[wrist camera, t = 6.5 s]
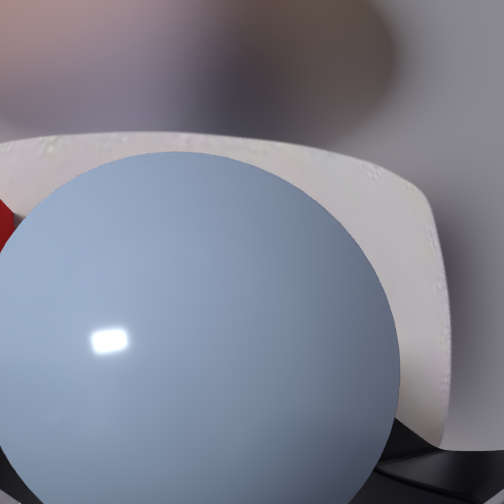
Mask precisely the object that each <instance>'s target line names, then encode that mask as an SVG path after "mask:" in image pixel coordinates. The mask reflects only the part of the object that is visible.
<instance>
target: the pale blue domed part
mask: <svg viewBox="0 0 504 504" xmlns="http://www.w3.org/2000/svg"><path fill="white" fill-rule="evenodd" d="M399 385H400V355H399V345H398V339H397V333H396V328H395V322H394V319H393V316H392V312H391V309H390V306H389V303H388V300H387V297H386V294H385V292H384V290H383V287H382V285H381V283H380V281H379V279H378V277H377V275H376V272H375V270H374V269H373V267H372V265H371V264H370V262H369V261H368V259H367V257H366V256H365V254H364V253H363V251H362V250H361V248H360V246H359V245H358V244H357V243H356V241H355V240H354V239H353V238H352V236H351V235H350V234H349V233H348V232H347V230H346V229H345V228H344V227H343V226H342V224H341V223H340V222H339V221H338V220H336V219H335V218H334V217H333V216H332V215H331V214H330V213H329V212H328V211H327V210H326V209H325V208H324V207H323V206H322V205H320V204H319V203H318V202H316V201H315V200H314V199H312V198H311V197H310V196H308V195H307V194H306V193H304V192H303V191H302V190H300V189H299V188H297V187H295V186H294V185H292V184H290V183H289V182H287V181H285V180H283V179H282V178H280V177H278V176H276V175H274V174H272V173H269V172H267V171H265V170H262V169H260V168H258V167H255V166H253V165H250V164H247V163H244V162H240V161H237V160H234V159H230V158H227V157H222V156H216V155H210V154H204V153H193V152H160V153H148V154H143V155H137V156H132V157H127V158H123V159H120V160H116V161H113V162H110V163H107V164H104V165H101V166H99V167H97V168H94V169H92V170H90V171H88V172H86V173H83V174H81V175H79V176H77V177H76V178H74V179H72V180H71V181H69V182H68V183H66V184H64V185H63V186H61V187H60V188H58V189H57V190H55V191H54V192H53V193H52V194H50V195H49V196H48V197H47V198H45V199H44V200H43V201H42V202H41V203H39V204H38V205H37V206H36V207H35V208H34V209H33V210H32V211H31V212H30V214H29V215H28V216H27V217H26V218H25V219H24V220H23V221H22V222H21V223H20V225H19V226H18V227H17V229H16V230H15V231H14V233H13V234H12V235H11V237H10V238H9V240H8V241H7V243H6V244H5V246H4V248H3V250H2V251H1V253H0V446H1V448H2V450H3V452H4V453H5V455H6V457H7V459H8V460H9V462H10V464H11V465H12V467H13V468H14V469H15V471H16V472H17V474H18V475H19V476H20V478H21V479H22V480H23V481H24V483H25V484H26V485H27V487H28V488H29V489H30V490H31V491H32V492H33V493H34V494H35V495H36V496H37V497H38V498H39V499H40V500H41V501H42V502H43V503H44V504H348V503H349V502H350V501H351V499H352V498H353V497H354V496H355V495H356V493H357V492H358V491H359V490H360V489H361V487H362V486H363V485H364V483H365V482H366V480H367V479H368V477H369V476H370V474H371V472H372V471H373V469H374V467H375V466H376V464H377V462H378V461H379V458H380V456H381V454H382V452H383V449H384V447H385V445H386V442H387V440H388V437H389V435H390V432H391V428H392V425H393V421H394V417H395V413H396V409H397V403H398V395H399Z"/></svg>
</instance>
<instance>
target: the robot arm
mask: <svg viewBox="0 0 504 504" xmlns="http://www.w3.org/2000/svg"><path fill="white" fill-rule="evenodd" d="M19 503H21V504H44V503H43V502H42V501H41V500H40V499H39V498H38V497H37V496H36V495H35V494H34V493H33V492H32V491H31V490H30V489H29V488H28V487H27V485H26V484H25V483H24V481H23V480H22V479H21V478H20V476H19V475H18V474H17V472H16V471H15V469H14V468H13V467H12V465H11V464H10V462H9V460H8V459H7V457H6V455H5V453H4V452H3V450H2V448H1V446H0V504H19ZM348 504H504V450H496V451H449V450H443V449H440V448H437V447H435V446H433V445H431V444H430V443H428V442H427V441H425V440H424V439H422V438H421V437H420V436H418V435H417V434H416V433H414V432H413V431H412V430H410V429H409V428H408V427H406V426H405V425H404V424H402V423H401V422H400V421H399V420H397V419H396V418H395V417H394V421H393V425H392V428H391V432H390V435H389V437H388V440H387V442H386V445H385V447H384V449H383V452H382V454H381V456H380V458H379V461H378V462H377V464H376V466H375V467H374V469H373V471H372V472H371V474H370V476H369V477H368V479H367V480H366V482H365V483H364V485H363V486H362V487H361V489H360V490H359V491H358V492H357V493H356V495H355V496H354V497H353V498H352V499H351V501H350V502H349V503H348Z"/></svg>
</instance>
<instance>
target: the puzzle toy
mask: <svg viewBox="0 0 504 504" xmlns="http://www.w3.org/2000/svg"><path fill="white" fill-rule="evenodd" d="M14 231H15V229H14V221H13V212H12V211H11V210H10V209H9V208H8V207H7V206H6V205H5V204H4V203H3V202H2V201H1V199H0V253H1V251H2V250H3V248H4V246H5V244H6V243H7V241H8V240H9V238H10V237H11V235H12V234H13V233H14Z"/></svg>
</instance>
